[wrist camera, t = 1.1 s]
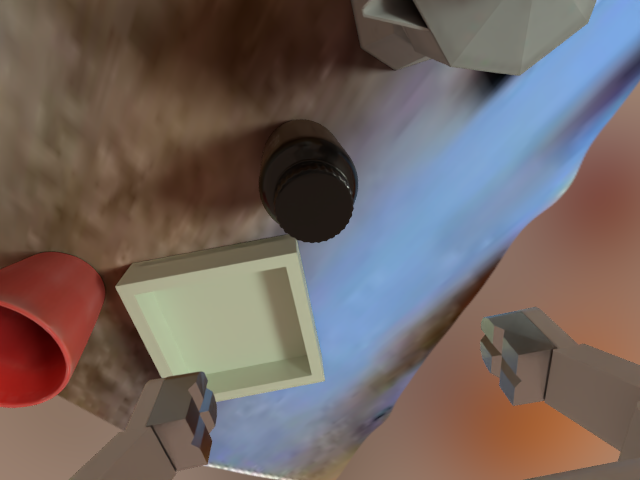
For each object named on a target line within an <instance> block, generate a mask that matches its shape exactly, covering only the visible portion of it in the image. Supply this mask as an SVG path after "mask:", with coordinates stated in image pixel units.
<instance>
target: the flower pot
mask: <svg viewBox="0 0 640 480" xmlns="http://www.w3.org/2000/svg"><path fill="white" fill-rule="evenodd" d="M104 299H105V287H104V283H103V281H102V279H101V277H100V276H99V274H98V273H97V272H96V270H95V269H94V268H93V267H91V266H90V265H89V264H88V263H86V262H85V261H83V260H81V259H79V258H77V257H75V256H72V255H69V254H64V253H60V252H44V253H39V254H36V255H33V256H31V257H29V258H26V259H24V260H21V261H19V262H16V263H14V264H12V265H9V266H7V267H5V268H2V269H0V407H7V408H10V407H11V408H16V407H27V406H32V405H37V404H40V403H43V402H45V401H47V400H49V399H51V398H53V397H54V396H56V395H57V394H58V393H60V392H61V391H62V390H63V389H64V388H65V386H66V385H67V384H68V382H69V380H70V378H71V376H72V374H73V372H74V370H75V368H76V366H77V363H78V361H79V359H80V357H81V355H82V352H83V350H84V348H85V346H86V344H87V342H88V339H89V337H90V335H91V332H92V330H93V328H94V326H95V323H96V321H97V318H98V316H99V314H100V311H101V308H102V305H103V303H104Z"/></svg>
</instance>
